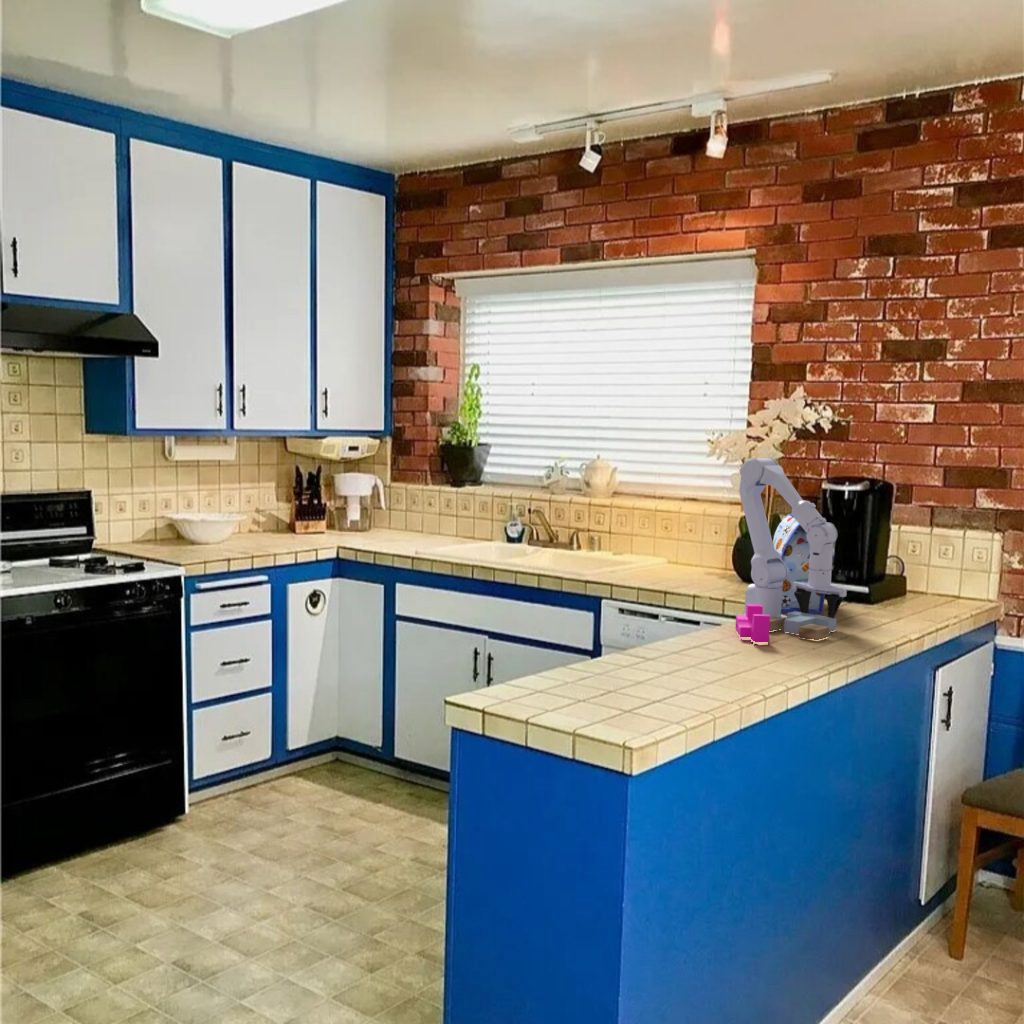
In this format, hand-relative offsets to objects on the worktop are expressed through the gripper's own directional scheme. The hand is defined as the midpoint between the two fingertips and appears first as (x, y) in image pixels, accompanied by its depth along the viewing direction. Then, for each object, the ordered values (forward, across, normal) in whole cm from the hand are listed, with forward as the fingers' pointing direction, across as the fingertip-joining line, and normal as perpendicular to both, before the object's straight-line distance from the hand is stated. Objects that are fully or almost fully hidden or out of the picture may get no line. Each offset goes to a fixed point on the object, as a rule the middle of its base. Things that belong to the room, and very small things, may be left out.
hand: (817, 619), depth 274 cm
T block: (+2, 0, -7) cm, 8 cm away
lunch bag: (+2, -19, +22) cm, 29 cm away
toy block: (+2, -4, -26) cm, 26 cm away
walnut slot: (+2, 0, -14) cm, 14 cm away
